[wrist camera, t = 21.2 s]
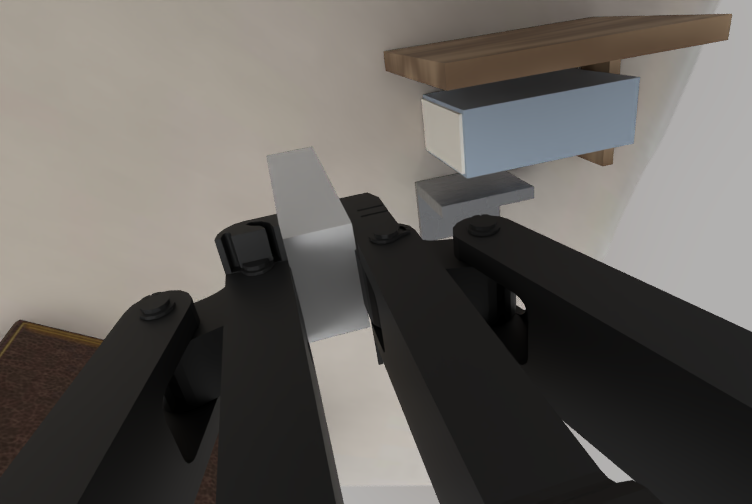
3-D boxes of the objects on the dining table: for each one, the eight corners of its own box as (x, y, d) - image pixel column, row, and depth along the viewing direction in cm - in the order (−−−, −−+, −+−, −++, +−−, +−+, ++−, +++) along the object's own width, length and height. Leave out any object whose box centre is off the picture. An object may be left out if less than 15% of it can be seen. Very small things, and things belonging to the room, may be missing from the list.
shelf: (383, 51, 41) (444, 63, 28) (593, 17, 44) (732, 13, 31) (400, 193, 46) (458, 255, 34) (585, 154, 49) (701, 197, 37)
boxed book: (419, 94, 43) (459, 110, 35) (569, 67, 45) (639, 77, 37) (425, 151, 45) (463, 179, 37) (567, 123, 47) (633, 143, 39)
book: (241, 363, 49) (240, 638, 27) (211, 428, 52) (187, 731, 30) (-18, 298, 41) (-324, 619, 19) (-40, 380, 43) (-335, 750, 21)
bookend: (415, 182, 46) (441, 206, 40) (495, 165, 47) (533, 186, 41) (421, 240, 48) (447, 272, 42) (497, 223, 50) (533, 251, 44)
